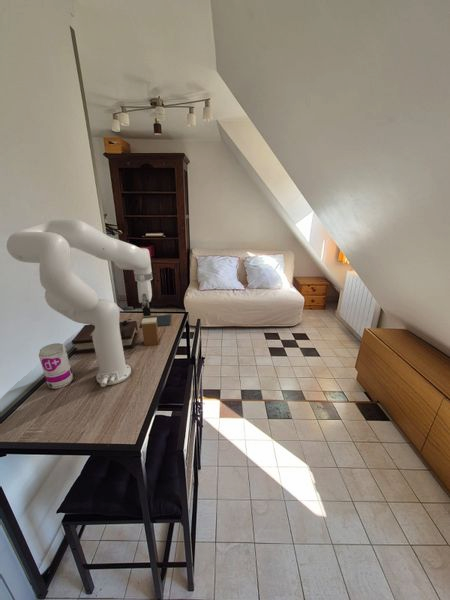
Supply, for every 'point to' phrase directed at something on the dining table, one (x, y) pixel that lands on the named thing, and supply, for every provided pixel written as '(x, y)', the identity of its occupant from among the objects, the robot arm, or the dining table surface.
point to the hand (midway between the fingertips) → (148, 311)
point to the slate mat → (161, 320)
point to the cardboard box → (150, 331)
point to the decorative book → (85, 335)
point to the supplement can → (56, 365)
